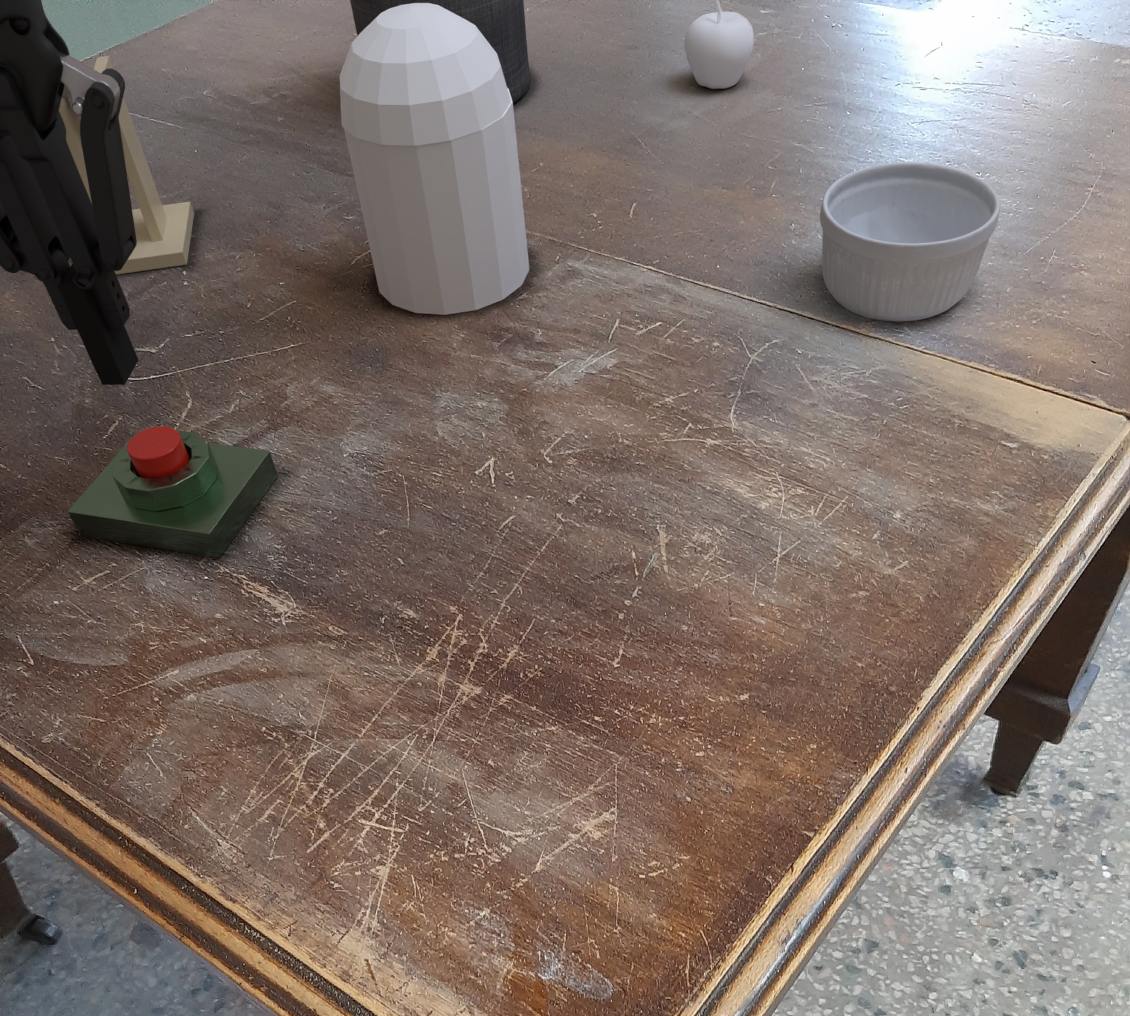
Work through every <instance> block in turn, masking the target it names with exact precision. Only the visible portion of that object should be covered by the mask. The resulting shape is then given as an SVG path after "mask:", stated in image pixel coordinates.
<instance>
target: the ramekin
mask: <svg viewBox="0 0 1130 1016" xmlns="http://www.w3.org/2000/svg"><path fill="white" fill-rule="evenodd" d="M819 211H820V212H819V222H820V226H821V229H822V237H821V240H822V242H821V244H822V245H821V247H822V248H821V250H822V251H821V253H822V254H821V267H822V268H821V269H822V277H823V281H824V284H825V286H826V288H827V291H828V292H829V293H830V294H831V296H832V297H833V298H834V299H835V301H836V302H837V303H838V304H840V306H841V307H843V308H845V309H846V310H848V311H850V312H851V313H854V314H856V315H859V316H862V317H864V318H868V319H872V320H877V321H885V322H897V323H898V322H899V323H900V322H915V321H920V320H925V319H929V318H933V317H935V316H938V315H940V314H943V313H945V312H946V311H948V310H950V309H951V308H952V307H954V306H955V305H956V304H957V303H958V302H960V301H961V300H962V299H964V297H965V296H966V295H967V293H968V292H969V291H970V289H971V287H972V286H973V283H974V281H975V279H976V277H977V275H978V271H979V269H980V266H981V263H982V261H983V258H984V255H985V252H986V250H987V246H988V243H989V240H990V238H991V237H992V235H993V234H994V232H995V231H996V228H997V226H998V222H999V217H1000V212H1001V200H1000V197H999V194H998V193H997V192H996V190H995V189H994V188H993V187H992V186H991V185H990V184H989V183H987V182H986V181H985V180H984V179H982V178H981V177H978V176H976V175H974V174H972V173H970V172H967V171H965V170H962V169H959V168H955V167H952V166H948V165H943V164H938V163H928V162H919V161H902V162H901V161H900V162H897V161H896V162H887V163H880V164H875V165H870V166H865V167H862V168H859V169H855V170H853V171H851V172H849V173H847V174H845V175H843V176H841V177H840V178H838V179H836V180H835V181H834V182H833V183H831V184H830V185H829V187H828V188H827V189H826V191H825V193H824V195H823V196H822V199H821V206H820V210H819Z"/></svg>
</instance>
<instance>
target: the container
mask: <svg viewBox="0 0 1130 1016" xmlns="http://www.w3.org/2000/svg"><path fill="white" fill-rule="evenodd" d="M346 54H347V55H346V57H345V60H344V63H343V66H342V68H341V71H340V74H339V96H340V97H339V98H340V99H339V100H340V101H339V102H340V121H341V127H342V128H343V132H344V136H345V141H346V145H347V149H348V154H349V159H350V163H351V168H352V173H353V177H354V182H355V185H356V191H357V196H358V200H359V201H358V202H359V205H360V209H361V215H362V218H363V223H364V228H365V233H366V237H367V241H368V247H369V252H370V256H371V259H372V260H371V261H372V265H373V269H374V274H375V278H376V284H377V288H378V292H379V294H380V295H382V297H384V298H385V300H387V301H388V302H389V303H390V304H391V305H392V306H395V307H397V308H399V309H403V310H406V311H409V312H412V313H415V314H428V315H439V316H440V315H441V316H443V315H444V316H447V315H453V314H454V315H455V314H459V313H466V312H473V311H477V310H480V309H483V308H485V307H488V306H491V305H493V304H496V303H498V302H501V301H503V300H505V299H506V298H507V297H509V296H510V295H511V294H512V293H514V292H516V291H517V290H518V289H520V287H522V286H523V284H524V282H525V280H526V278H527V276H528V274H529V272H530V260H529V252H528V242H527V241H528V240H527V232H526V231H527V230H526V221H525V213H524V212H525V211H524V201H523V191H522V181H521V172H520V162H519V152H518V142H517V132H516V122H515V112H514V103H513V101H512V98H511V95H510V92H509V89H508V88H507V86H506V82H505V79H504V75H503V72H502V68H501V65H500V62H499V58H498V55H497V53H496V52H495V50H494V49H493V48H492V47H491V45H490V44H489V43H488V41H487V40H486V39H485V37H484V36H483V35H482V33H481V32H480V31H479V30H478V28H477V27H476V26H475V25H474V24H472V23H471V22H469V21H467V20H465V19H464V18H462V17H460V16H458V15H456V14H454V13H452V12H450V11H449V10H447V9H445V8H443V7H441V6H439V5H436V4H430V3H412V4H405V5H400V6H396V7H393V8H390V9H388V10H386V11H384V12H382V13H380V14H379V15H378V16H377V17H376V18H375V19H374V20H373V21H372V22H371V23H370V24H369V25H368V26H367V27H366V28H365V29H364V30H363V31H362V32H361V33H360V34H359V35H358V36H357V35H356V37H355V38H354V39H353V41H351V43H350V46H349V50H348V52H347V53H346Z"/></svg>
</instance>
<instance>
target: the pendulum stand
mask: <svg viewBox="0 0 1130 1016" xmlns="http://www.w3.org/2000/svg"><path fill="white" fill-rule="evenodd" d="M109 68H111V69H114V66H113V64H112V60H111V58H110V56H109V55H105V56H97V57H96V60H95V63H94V66H93V69H94V70H96V71H97V72H99V73H102V72H103V71H104V70H105V69H109ZM59 112H60V114H61V117H62V119H63V122H64V124H65V127H66V141H67V144H68V146H69V149H70V151H71V154H72V156H73V159H74V161H75V164H76V166H77V169H78V171H79V174H80V176H81V178H82V181H83V183H84V186H85V188H86V191H87V193H88V196H89V198H90V201H91V196H90V190H89V184H88V179H87V173H86V167H85V161H84V156H83V150H82V144H81V137H80V120H81V116H79V115H76V114H75V113H74V112H73V111H72V109H71V106H70V103H69V99H64V98H62V99H61V103H60V108H59ZM119 124H120V130H121V137H122V144H123V151H124V158H125V165H126V172H127V178H128V182H129V183H130V187H131V189H132V192H133V194H134V198H135V199H136V202H137V205H138V208H134V209H133V208H132V213H133V220H134V227H135V233H136V240H137V245H136V247H135V249H134V250H133V252H132V253H131V255H130V257H129V258H128V260H127V261H126V263H125V264H124V266H123V267H122V269H121V270H119V271H115V273H116V276H117V275H123V274H129V273H138V272H144V271H150V270H151V271H152V270H158V269H159V270H160V269H165V268H173V267H179V266H187V265H188V260H189V252H190V245H191V240H192V239H191V237H192V232H193V225H194V219H195V211H194V209H193V206H192V205H193V204H192V203H191V201H183V202H176V203H170V204H163V203H162V200H161V197H160V195H159V191H158V189H157V186H156V183H155V180H154V178H153V175H152V172H151V169H150V166H149V164H148V162H147V161H148V160H147V159H146V156H145V153H144V151H143V148H142V145H141V142H140V138H139V136H138V133H137V130H136V127H135V125H134V122H133V119H132V117H131V114H130V111H129V109H128V105H127V103H126V100H125V97H124V96H123V100H122V104H121V109H120V113H119ZM91 203H92V201H91Z"/></svg>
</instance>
